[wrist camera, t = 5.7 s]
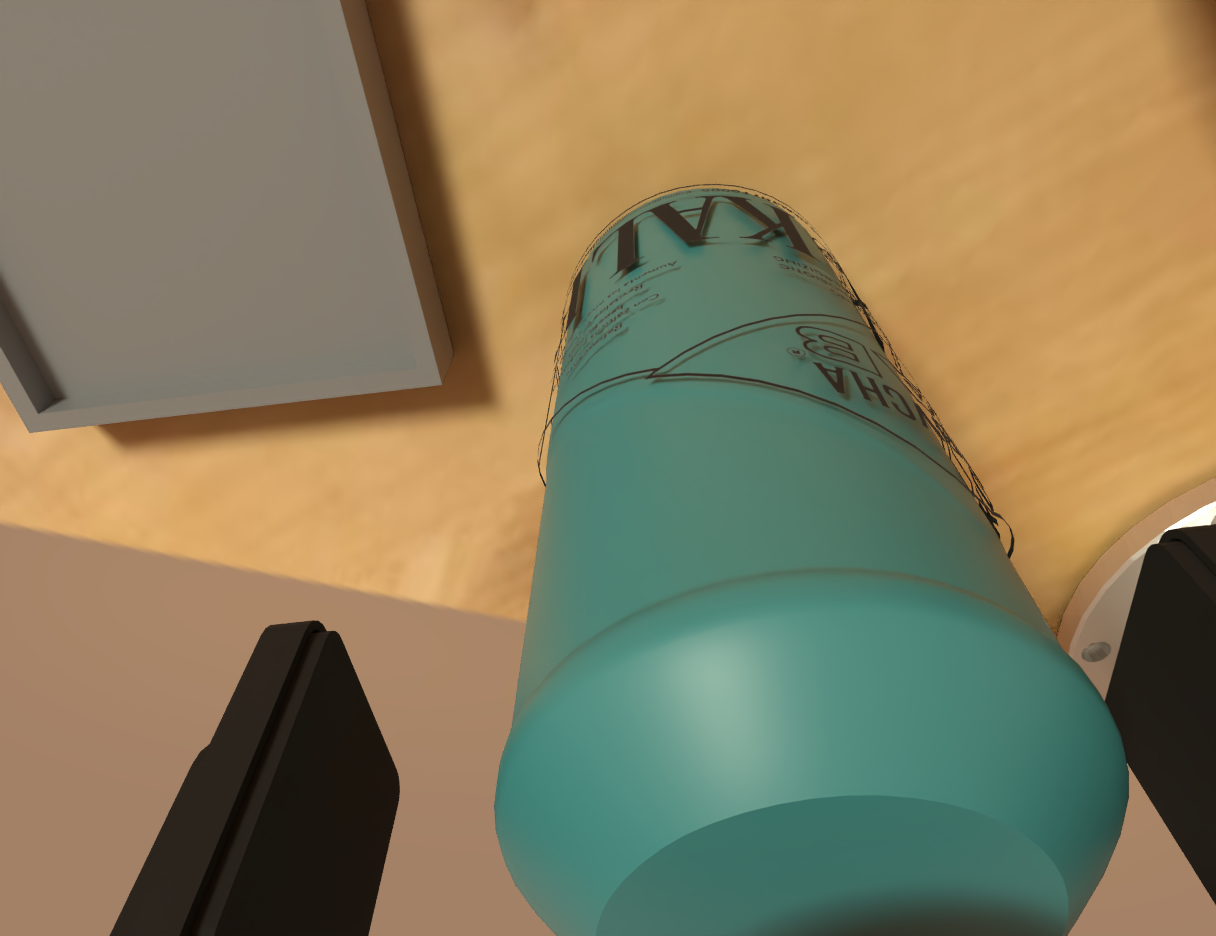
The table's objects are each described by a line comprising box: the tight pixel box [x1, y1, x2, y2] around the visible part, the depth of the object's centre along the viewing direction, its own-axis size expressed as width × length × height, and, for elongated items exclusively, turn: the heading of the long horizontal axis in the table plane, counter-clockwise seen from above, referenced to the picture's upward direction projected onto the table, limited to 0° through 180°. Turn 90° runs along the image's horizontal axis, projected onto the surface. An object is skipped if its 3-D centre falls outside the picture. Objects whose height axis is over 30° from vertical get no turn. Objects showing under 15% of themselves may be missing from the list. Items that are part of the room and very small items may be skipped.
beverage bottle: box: [494, 184, 1129, 936], centre depth 13 cm, size 6×7×20 cm
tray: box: [0, 0, 454, 433], centre depth 19 cm, size 11×11×2 cm
